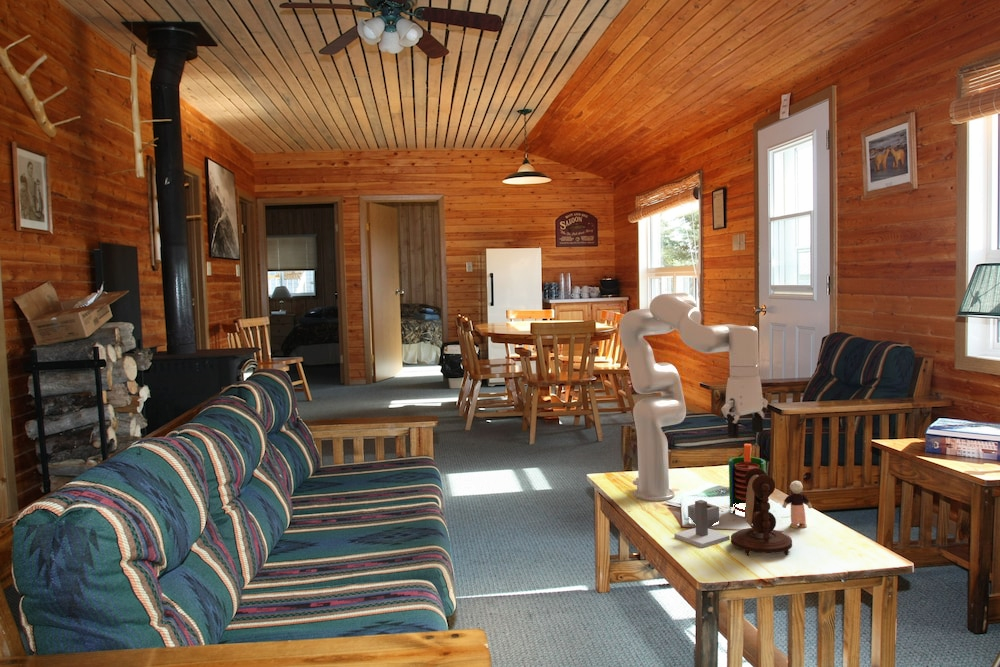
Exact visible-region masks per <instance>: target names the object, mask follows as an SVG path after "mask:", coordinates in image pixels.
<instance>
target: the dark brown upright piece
mask: <svg viewBox="0 0 1000 667" xmlns="http://www.w3.org/2000/svg"><path fill="white" fill-rule="evenodd" d="M745 482H746V484H747V486H748V488H747V494H746V507H745V517H746V518H745V517H744V518H745V520H746V523H747V524H748V525H749V527H747V528H743V529H739V530H737V531H735V532H734V533H732V534H731V535H730V543H731V544H732V545H733V547H735V548H737V549H740V550H743V551H744V553H745V556H747V557H748V556H750V553H757V554H777V553H778V554H779V553H784V555H786V556H787V555H788V554H789V550H791V549H792V547H793V539H792V538H791V537H790V536H789V535H787V534H785V533H783V532H782V531H779V530H776V529H775V528H776V525H777V518H776V517H775V515H774V514H773V513H772V512H770V509H771V503H770V502H769V500H770V498H769V497H770V496H771V495H772V494H773V493H774V491H775V489H776V482H775V480H774V479H773V477H772V476H770V475H768V474H767V472H766V473H765V472H764V471H763V470H762V469H760V468H753V469H750V470H749V471H748V472H747V473H746V476H745ZM757 502H758V503H757Z"/></svg>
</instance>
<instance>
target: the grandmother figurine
mask: <svg viewBox="0 0 1000 667" xmlns="http://www.w3.org/2000/svg"><path fill="white" fill-rule="evenodd" d="M789 488H790V490H791V492H792V494H789V495H788V496H786V497H785V498H784V500H783V504H782V505H781V506H782V508H783V509H786V508H787V506H788V505H789V504H790V522H791V523H790V524H789V526H790V527H791V528H793V529H799V527H800V528H803V529H804V528H807V527H808V524H807V522H806V521H807V519H806V511H805V505H804V503H805V504H806V506H807V508H808V509H812V507H813V506H812V503H811V502H810V500H809V498H808V497H807V496H806V495H805V494H803V493H801V492H802V491H803V488H804V487H803V483H802V482H801V481H800V480H794V481H792V482H791V483H790V485H789Z"/></svg>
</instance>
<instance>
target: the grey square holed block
mask: <svg viewBox="0 0 1000 667" xmlns="http://www.w3.org/2000/svg"><path fill="white" fill-rule="evenodd" d="M688 517H690V518H691V519H692V520H693V522H694V523H695V524H696V522H695V503H694V504H690V505H687V518H688ZM707 519H708V528H709V529H710V528H712V527H713V526H712V525H713V524H714V523H716V522H718V521H719V522H720V506H717V505H714V504H711V503H708V502H707ZM711 526H712V527H711Z"/></svg>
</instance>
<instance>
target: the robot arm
mask: <svg viewBox="0 0 1000 667" xmlns="http://www.w3.org/2000/svg"><path fill="white" fill-rule="evenodd" d="M701 322H702V314H701V311H700V310H699V308H697V302H696V300H695V298H694V297H693V296H692V295H691V294H689V293H687V292H677V293H675V292H674V293H660V294H658V295H656V296H655V297H654V298H653V299H652V300H651V301H650V303H649V308H639V309H634V310H633V309H632V310H629V311H627V312H626V313H624V314H623V315H622V316H621V318H620V321H619V325H618V333H619V338H620V340H621V344H622V347H623V349H624V351H625V355H626V359H627V366H628V369H629V375H630V380H631V383H632V384H631V385H632V388H633V390H634V391H635V392H636V393H637V394H639V395H648V394H657V393H660V395H661V396H653V397H647V398H643V399H640V400H639V401H637V402H636V403H635V405H634V406H633V408H632V409H633V411H632V415H633V416H632V417H633V420H634V424H635V425H634V426H635V429H636V430H635V431H636V443H637V472H638V475H637V477H636V478H635V479H634V480H633V481H632V484H633V485H634V486H636V489H635V490H634V492H633V495H634V497H635V498H637V499H639V500H643V501H650V502H652V501H653V502H654V501H655V502H660V501H667V500H670V499H672V498H674V496H675V491H673V490H672V489H670V483H669V482H670V476H669V445H668V439H667V436H666V435H665V433H664V431H663V429H662V427H668V426H673V425H678V424H681V423H682V422H684V420H685V418H686V416H687V407H686V401H685V397H684V391H683V386H682V380H681V378H680V374H679V371H678V370H677V368H676V366H674V365H673V364H672V363H669V362H657V361H656V360H655V356H654V350H653V348H652V346H651V345H650V344H649V342H648V341H647V340H646V339H645V338H644V336H652V335H653V336H654V335H655V336H656V335H665V334H668V333H669V334H670V333H671V332H674V330H675V331H677V332H678V335H679V337H680V339H681V341H682V343H684V344H685V345H686V346H688V347H690V348H691V349H694V350H695V351H697V352H700V353H702V354H714V353H722V352H723V353H724V352H729V353H728V356H729V358H728V359H729V377H728V378H727V381H726V390H725V404H724V405H723V406H722V407H721V408H720V409H721V412H722V415H723V418H724V419H725V422H726V423H727V436H728V437H729V438H732V439H733V438H734V439H738V438H740V431H739V430H740V429H739V428H740V426H739V423H738V421H739V419H740V417H741V416H746V415H753V416H752V417H751V423H752V424H751V426H752V428H751V431H752V432H755V433H760V434H763V433H764V418H765V413H766V412H767V406H768V404H769V401H768V400H767V399H766V398H765V397H763V389H762V380H761V377H760V361H759V360H760V359H759V357H760V356H759V352H760V351H759V330H758V328H757V327H755V326H753V325H737V324H734V323H733V324H732V323H731V324H730V323H728V324H713V325H704V324H701Z"/></svg>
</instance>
